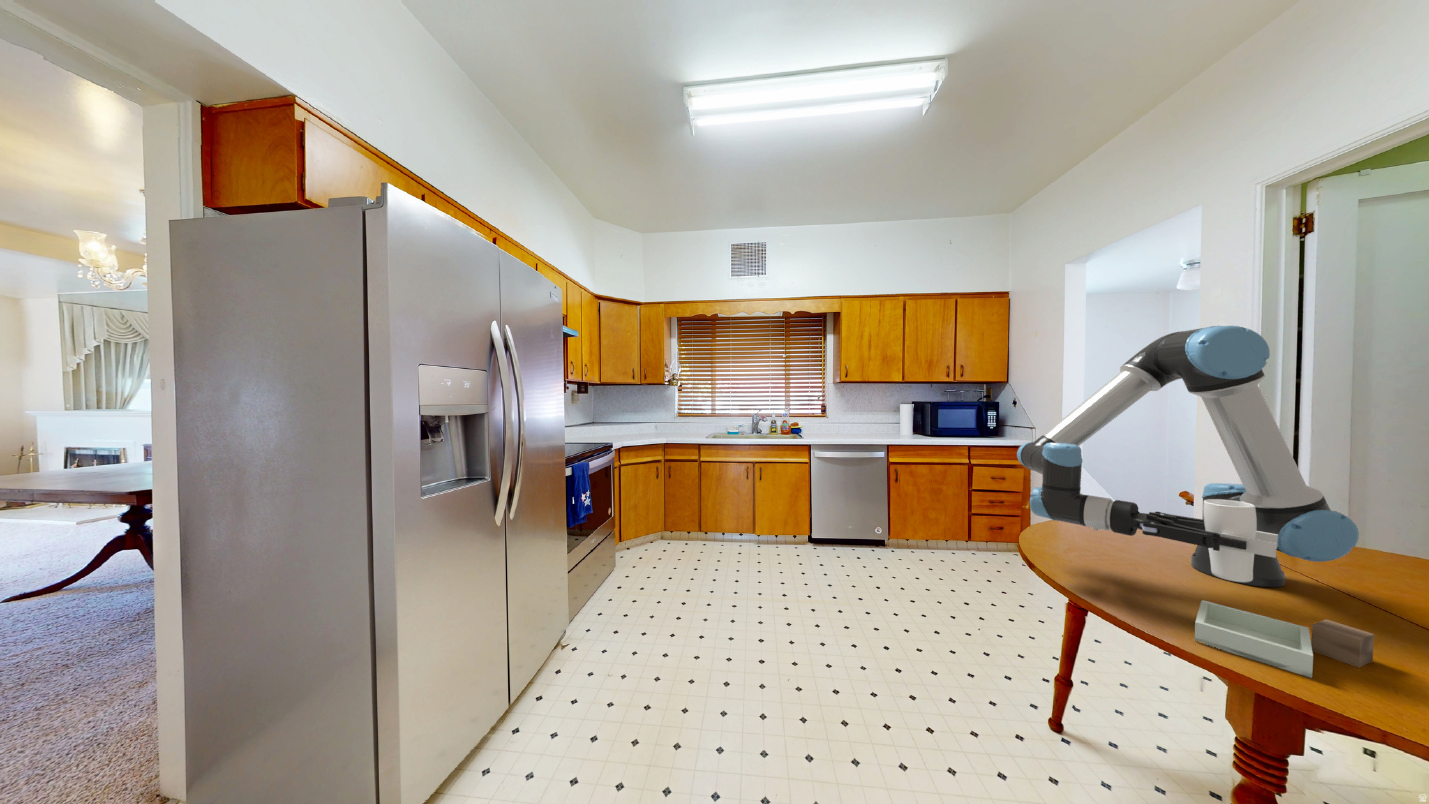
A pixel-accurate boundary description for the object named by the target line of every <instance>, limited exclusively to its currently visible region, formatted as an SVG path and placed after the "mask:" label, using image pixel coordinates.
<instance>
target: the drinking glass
mask: <svg viewBox="0 0 1429 804" xmlns="http://www.w3.org/2000/svg"><path fill="white" fill-rule="evenodd" d="M1202 516H1204V525H1205V531H1209V532H1213V533H1218V534H1220V536H1221V533H1226V534H1232V535H1237V536H1243V537H1248V538H1254V539H1256V532H1257V516H1256V507H1255V505H1253V504H1250V503H1245V502H1240V501H1232V500H1220V499H1208V500H1204V504H1203V503H1202ZM1208 549H1209V555H1210V562H1211V572H1212V574H1214V575H1215V576H1217V577H1216V578H1218V577H1219V578H1218V579H1221V578H1222V580H1225V579H1226V581H1229V580H1230V582H1233V581H1235V582H1234V583H1237V582H1251V581H1252V580H1253V563H1254V554H1253V553H1248V552H1243V551H1238V550H1233V549H1228V548H1223V547H1221V545H1220V551H1216V550H1213V548H1208ZM1215 576H1214V577H1215Z"/></svg>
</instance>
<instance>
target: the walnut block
mask: <svg viewBox="0 0 1429 804" xmlns="http://www.w3.org/2000/svg"><path fill="white" fill-rule="evenodd" d="M1374 640H1375V634H1374V633H1371V632H1368V631H1366V630H1362V629H1358V628H1356V627H1352V626H1349V625H1346V624H1342V623H1340V622H1336V621H1333V620H1329V619H1328V618H1327V619H1326V618H1325V619H1323V620H1320V621H1317V622H1315V623H1312V624H1311V646H1312V652H1313V653H1317V654H1319V655H1323V656H1325V657H1329V658H1331V659H1333V660H1335V661H1336V660H1337V661H1339V662H1342V663H1345V664H1347V665H1351V666H1352V667H1357V668H1358V669H1359V668H1360V667H1364V666H1366V665H1368V664H1370V663H1372V662H1373V661H1374V645H1375V643H1374V642H1375V641H1374Z"/></svg>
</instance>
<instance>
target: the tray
mask: <svg viewBox="0 0 1429 804" xmlns="http://www.w3.org/2000/svg"><path fill="white" fill-rule="evenodd" d="M1195 640H1197V641H1199V642H1203V643H1204V644H1203V645H1205V644H1206V645H1205V646H1208V645H1210V646H1209V647H1211V646H1212V647H1211V648H1214V647H1216V648H1215V649H1217V648H1218V650H1220V649H1222V650H1221V651H1223V652H1227V653H1230V654H1234V655H1237V656H1240V657H1243V658H1247V659H1249V660H1253V661H1256V662H1259V663H1263V664H1266V665H1268V666H1272V667H1276V668H1278V669H1282V670H1285V671H1288V672H1291V673H1293V674H1294V673H1295V674H1298V675H1301V676H1304V677H1307V678H1309V679H1313V670H1314V669H1313V667H1314V651H1312V646H1311V640H1312V638H1311V633H1310V628H1309V627H1307V626H1305V625H1299V624H1295V623H1292V622H1287V621H1286V620H1285V621H1283V620H1280V619H1276V618H1274V617H1273V618H1272V617H1270V616H1264V615H1260V614H1258V613H1253V612H1250V611H1244V610H1243V609H1238V608H1233V607H1231V606H1227V605H1222V604H1219V603H1216V602H1215V603H1214V602H1211V601H1206V600H1204V599H1203V600H1202V599H1201V601H1200V604H1199V608H1198V611H1197V615H1196V619H1195V622H1194V641H1195Z"/></svg>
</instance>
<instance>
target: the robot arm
mask: <svg viewBox="0 0 1429 804" xmlns="http://www.w3.org/2000/svg"><path fill="white" fill-rule="evenodd" d="M1270 356H1271V354H1270V347H1269V344H1268V342H1267V341H1266V339H1265V338H1264V337H1263V336H1262V335H1261V334H1259V333H1258V332H1257V331H1254V330H1252V329H1250V328H1246V327H1243V326H1239V325H1216V326H1215V325H1213V326H1208V327H1201V328H1195V329H1190V330H1183V331H1177V332H1176V331H1175V332H1172V333H1168V334H1165V335H1164V336H1161V337H1159V338H1156V339H1155V340H1153V341H1152V342H1150V343H1149V344H1148V345H1147V346H1145V347H1144V348H1142V349H1140V350H1139V351H1138V352H1137V353H1135V354H1134V355H1133V356H1132V357H1130V358H1129V359H1128V360H1126V361H1125V363H1123V364H1122V365H1121V366H1120V368H1119V370H1120V371H1119V373H1117V375H1115V376H1114V377H1113V378H1112V379H1109V381H1107V383H1105V384H1104V385H1103V386H1101V387H1100V388H1099V389H1098V390H1097V391H1095V392H1094V393H1093V394H1092V395H1090V397H1088V398H1087V399H1086V400H1084V401H1083V402H1081V404H1079V405H1078V406H1077V407H1076V408H1074V409H1073V410H1072V411H1071V412H1069V413H1068V414H1067V415H1065V417H1063V418H1062V419H1061V420H1060V421H1059V422H1057V423H1055V425H1054V426H1053V427H1051V428H1049V430H1047V431H1046V432H1045V433H1044V434H1043V435H1041V436H1040V437H1038V438H1037V439H1036V440H1035V441H1032V442H1031V441H1030V442H1026V443H1023V444H1022V445H1020V446H1019V447H1018V449H1017V452H1016V458H1017V460H1018V462H1019V463H1020V464H1021V465H1022V466H1024V468H1026V469H1028V470H1030V471H1033V472H1036V473H1038V474H1041V475H1042V483H1041V486H1040V487H1038V486H1037V487H1034V488H1033V489H1032V490H1031V493H1030V498H1029V506H1030V507H1029V508H1030V510H1031V512H1032V513H1033V515H1035V516H1038V517H1042V518H1045V519H1049V520H1052V521H1056V522H1057V521H1058V522H1062V523H1063V522H1064V523H1067V524H1068V523H1069V524H1074V525H1079V526H1083V527H1088V528H1092V530H1093V531H1095V532H1096V531H1099V530H1102V531H1107V532H1109V531H1112V532H1113V533H1116V534H1121V535H1126V536H1131V537H1132V536H1135V534H1136V533H1137V532H1138V530H1140V531H1141V532H1142V535H1144V536H1151V537H1158V538H1163V539H1166V540H1172V541H1177V542H1181V543H1186V544H1190V545H1194V546H1196V547H1195V549H1194V553H1192V554H1191V557H1190V565H1191V566H1192V568H1194V569H1196V570H1197V571H1200V572H1201V573H1203V574H1207V575H1209V576H1211V577H1215V578H1218V579H1222V578H1219V577H1217V576H1215V575H1214V574H1212V572H1211V562H1210V555H1209V549H1208V548H1213V550H1216V551H1220V545H1221V547H1223V548H1228V549H1233V550H1238V551H1243V552H1248V553H1253V554H1254V563H1253V580H1252V581H1251V582H1235V581H1232V582H1234V583H1238V584H1243V585H1248V586H1256V587H1261V588H1263V587H1265V588H1282V587H1284V586H1285V585H1286V575H1285V572H1284V571H1283V570H1282V567H1281V565H1280V560H1279V559H1278V556H1277V551H1278V552H1279V553H1283V554H1285V555H1286V556H1287V555H1288V556H1289V557H1293V558H1298V559H1301V560H1305V561H1308V562H1314V563H1315V562H1316V563H1317V562H1319V563H1321V562H1324V563H1325V562H1331V561H1336V560H1339V559H1340V558H1343V557H1345V556H1347V555H1348V554H1349V553H1350V552H1351V551H1352V549H1353V548H1355V547H1356V545H1357V544H1358V541H1359V538H1360V537H1359V536H1360V530H1359V528H1358V526H1357V524H1356V523H1355V521H1354V520H1353V519H1351V518H1350V517H1349V516H1347V515H1345V514H1343V513H1342V512H1338V511H1337V510H1331V508H1330V507H1329V503H1328V502H1327V500H1326V498H1325V496H1324V494H1323V492H1322V491H1321V490H1319V489H1316V488H1315V487H1311V486H1308V485H1307V484H1306V482H1305V480H1304V477H1303V475H1302V474H1301V473H1302V472H1301V471H1300V469H1299V467H1298V465H1297V463H1296V461H1295V459H1294V458H1293V457H1294V456H1293V455H1292V453H1291V451H1290V449H1289V447H1288V445H1287V442H1286V441H1285V439H1284V437H1283V435H1282V432H1281V430H1280V428H1279V426H1278V424H1277V421H1276V419H1275V418H1274V416H1273V414H1272V412H1271V410H1270V408H1269V406H1268V404H1267V401H1266V399H1265V396H1264V395H1263V394H1262V391H1261V389H1260V387H1259V384H1260V383H1261V381H1263V380H1264V379H1265V378H1266V375H1265V373H1264V371H1263V368H1264V367H1266V366H1267V360H1268V359H1269V358H1270ZM1177 380H1183V383H1184V386H1185V387H1186V389H1187V391H1188V393H1190V394H1192V395H1195V396H1199V397H1201V400H1202V402H1203V403H1204V406H1205V408H1206V411H1207V412H1208V414H1209V416H1210V418H1211V421H1212V423H1213V424H1214V426H1215V429H1216V431H1217V433H1218V435H1219V437H1220V440H1221V442H1222V444H1223V446H1224V448H1225V450H1226V452H1227V454H1228V456H1229V458H1230V460H1231V462H1232V464H1233V467H1234V468H1235V471H1236V473H1237V475H1238V478H1239V480H1240V482H1241V483H1221V482H1220V483H1218V482H1216V483H1215V482H1214V483H1213V482H1212V483H1207V484H1206V485H1205V486H1204V487H1203V493H1202V496H1201V499H1202V505H1203V504H1204V500H1208V499H1220V500H1232V501H1240V502H1245V503H1250V504H1253V505H1255V507H1256V516H1257V532H1256V539H1254V538H1248V537H1243V536H1237V535H1232V534H1226V533H1221V536H1220V534H1218V533H1213V532H1209V531H1205V525H1204V516H1203V515H1202V519H1201V518H1195V517H1189V516H1182V515H1177V514H1172V513H1171V514H1169V513H1167V512H1165V513H1164V512H1161V511H1154V512H1152V511H1149V512H1148V513H1144V512H1140V511H1139V506H1138V504H1137V503H1135V502H1132V501H1131V502H1130V501H1126V500H1119V499H1116V500H1114V501H1113V499H1111V498H1109V497H1103V496H1102V497H1101V496H1096V495H1088V494H1083V493H1081V485H1082V465H1083V458H1082V449H1081V447H1080V446H1081V445H1082V444H1084V443H1085V442H1086V441H1088V440H1089V439H1090V438H1092V437H1093V436H1094V435H1095V434H1096V433H1098V432H1099V431H1100V430H1101V429H1103V428H1104V427H1106V426H1107V425H1108V424H1109V423H1110V422H1113V420H1114V419H1116V418H1117V417H1119V415H1121V414H1122V413H1123V412H1125V411H1126V410H1127V409H1128V408H1130V407H1131V406H1132V405H1134V404H1135V403H1137V402H1138V401H1139V400H1141V399H1142V398H1143V397H1144V396H1145V395H1147V394H1148V393H1149V392H1158V391H1160V390H1161V389H1162V388H1163V387H1165V386H1167V385H1168V384H1171V383H1172V382H1175V381H1177ZM1222 580H1223V579H1222ZM1224 580H1226V579H1224ZM1226 581H1227V580H1226ZM1228 581H1230V580H1228ZM1230 582H1231V581H1230Z"/></svg>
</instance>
